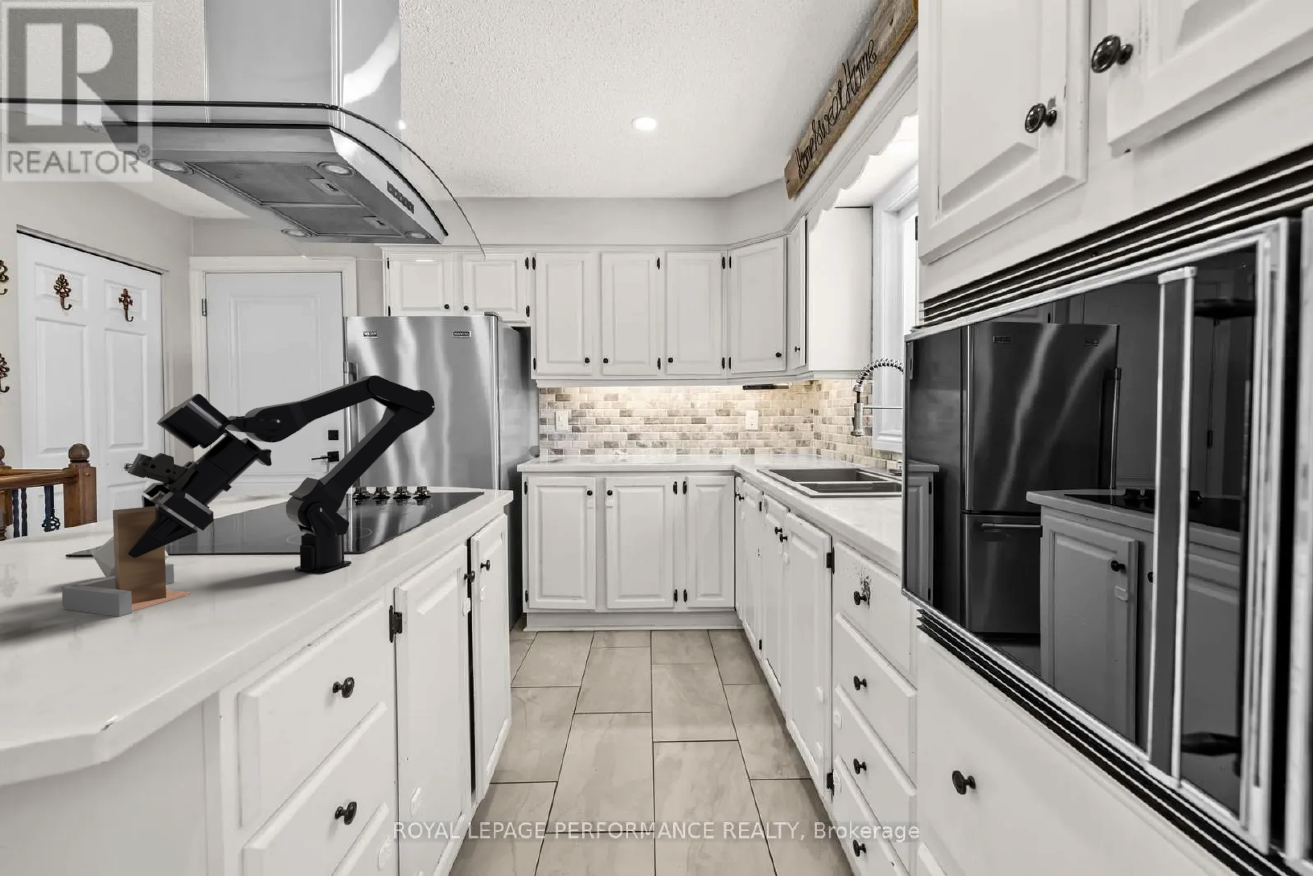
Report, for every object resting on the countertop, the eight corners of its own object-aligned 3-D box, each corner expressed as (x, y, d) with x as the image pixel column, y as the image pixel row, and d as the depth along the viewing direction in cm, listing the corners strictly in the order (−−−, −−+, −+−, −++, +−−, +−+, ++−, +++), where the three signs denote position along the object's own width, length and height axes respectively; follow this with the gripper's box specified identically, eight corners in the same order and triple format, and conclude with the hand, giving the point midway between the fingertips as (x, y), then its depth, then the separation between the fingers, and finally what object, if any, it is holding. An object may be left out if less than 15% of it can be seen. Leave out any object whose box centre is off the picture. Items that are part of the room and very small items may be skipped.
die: (114, 592, 92) (161, 538, 96) (66, 565, 92) (115, 512, 96) (147, 596, 100) (189, 546, 103) (102, 571, 100) (146, 521, 103)
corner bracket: (167, 581, 96) (166, 563, 96) (219, 587, 93) (218, 568, 93) (62, 608, 83) (61, 587, 83) (119, 616, 80) (118, 594, 80)
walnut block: (160, 590, 90) (157, 506, 90) (166, 597, 87) (163, 509, 86) (115, 598, 86) (112, 510, 86) (120, 606, 83) (117, 514, 82)
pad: (150, 590, 91) (150, 588, 91) (189, 594, 89) (189, 592, 89) (89, 606, 84) (88, 604, 84) (130, 611, 82) (130, 609, 82)
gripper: (159, 432, 95) (64, 508, 87) (182, 435, 82) (74, 525, 74) (220, 477, 101) (137, 552, 93) (250, 486, 88) (157, 574, 81)
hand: (126, 550), depth 85 cm, fingers open, 9 cm apart
